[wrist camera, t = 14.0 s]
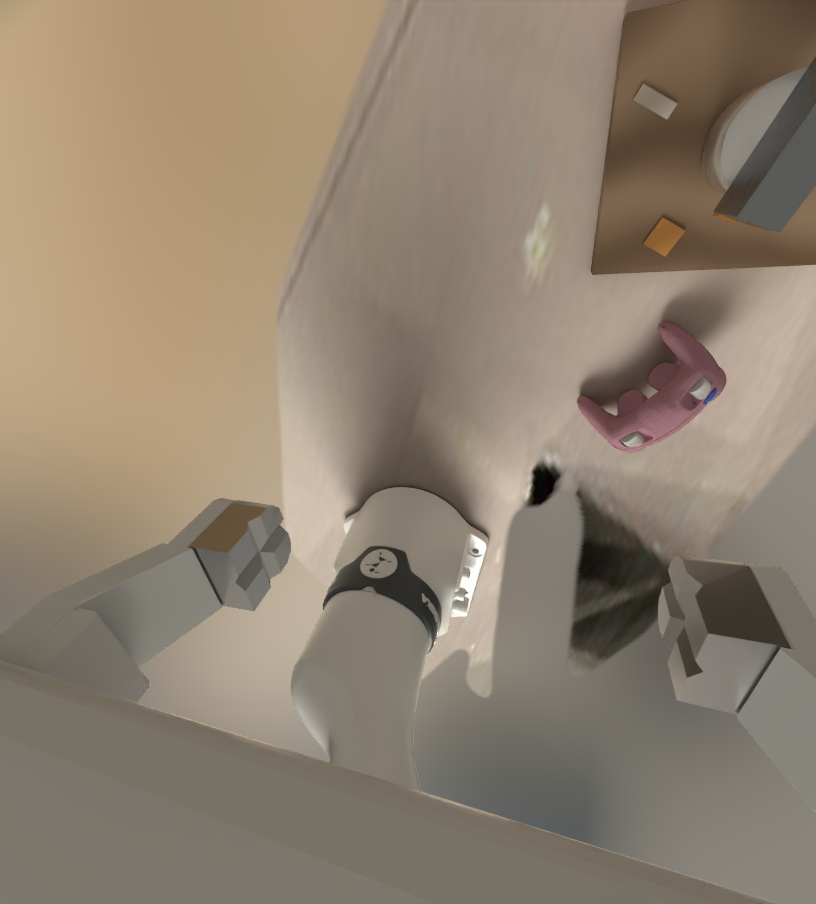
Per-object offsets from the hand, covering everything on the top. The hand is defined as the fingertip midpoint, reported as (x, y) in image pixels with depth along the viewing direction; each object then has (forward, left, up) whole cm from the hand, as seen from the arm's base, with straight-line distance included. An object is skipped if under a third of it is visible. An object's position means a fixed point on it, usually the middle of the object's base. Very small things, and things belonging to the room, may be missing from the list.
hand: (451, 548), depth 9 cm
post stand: (+7, -12, -31) cm, 34 cm away
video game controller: (-9, -10, -31) cm, 34 cm away
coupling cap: (+7, -12, -26) cm, 29 cm away
